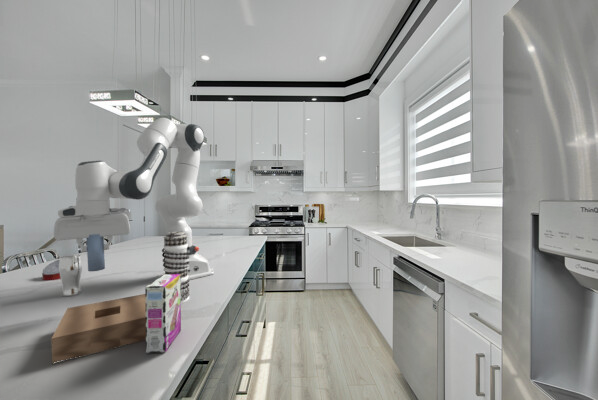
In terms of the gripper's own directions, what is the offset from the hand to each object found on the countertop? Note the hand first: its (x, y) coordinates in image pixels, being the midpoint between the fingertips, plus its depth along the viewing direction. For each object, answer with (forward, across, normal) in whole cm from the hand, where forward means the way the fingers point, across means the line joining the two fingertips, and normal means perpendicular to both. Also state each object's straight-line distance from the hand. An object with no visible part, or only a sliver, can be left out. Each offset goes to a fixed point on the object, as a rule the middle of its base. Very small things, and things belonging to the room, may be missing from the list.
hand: (95, 250), depth 90 cm
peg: (+6, 0, 0) cm, 6 cm away
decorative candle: (+21, -24, +5) cm, 32 cm away
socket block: (+20, -4, +20) cm, 29 cm away
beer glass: (+21, +10, -26) cm, 35 cm away
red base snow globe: (+21, +20, -59) cm, 66 cm away
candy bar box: (+20, -17, +34) cm, 43 cm away
